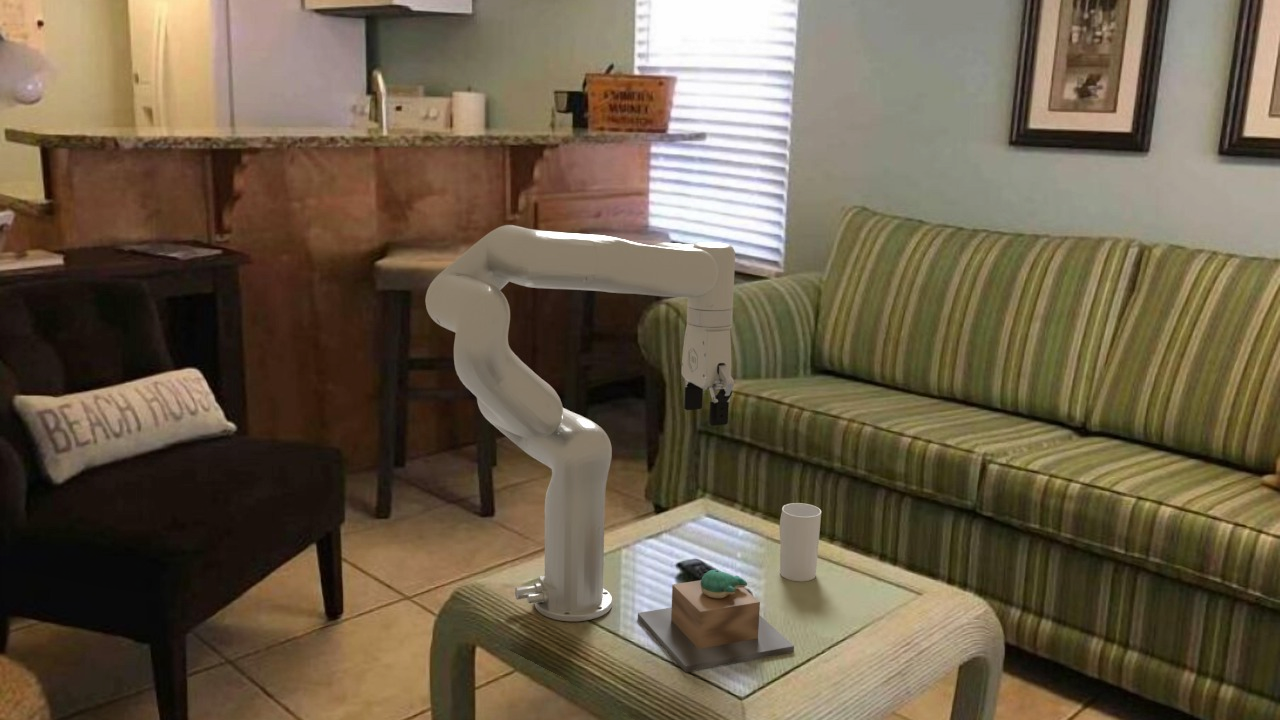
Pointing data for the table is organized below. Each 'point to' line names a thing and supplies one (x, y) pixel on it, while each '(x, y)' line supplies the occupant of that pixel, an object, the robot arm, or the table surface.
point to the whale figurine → (720, 584)
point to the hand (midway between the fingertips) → (705, 416)
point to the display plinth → (712, 653)
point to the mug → (799, 541)
